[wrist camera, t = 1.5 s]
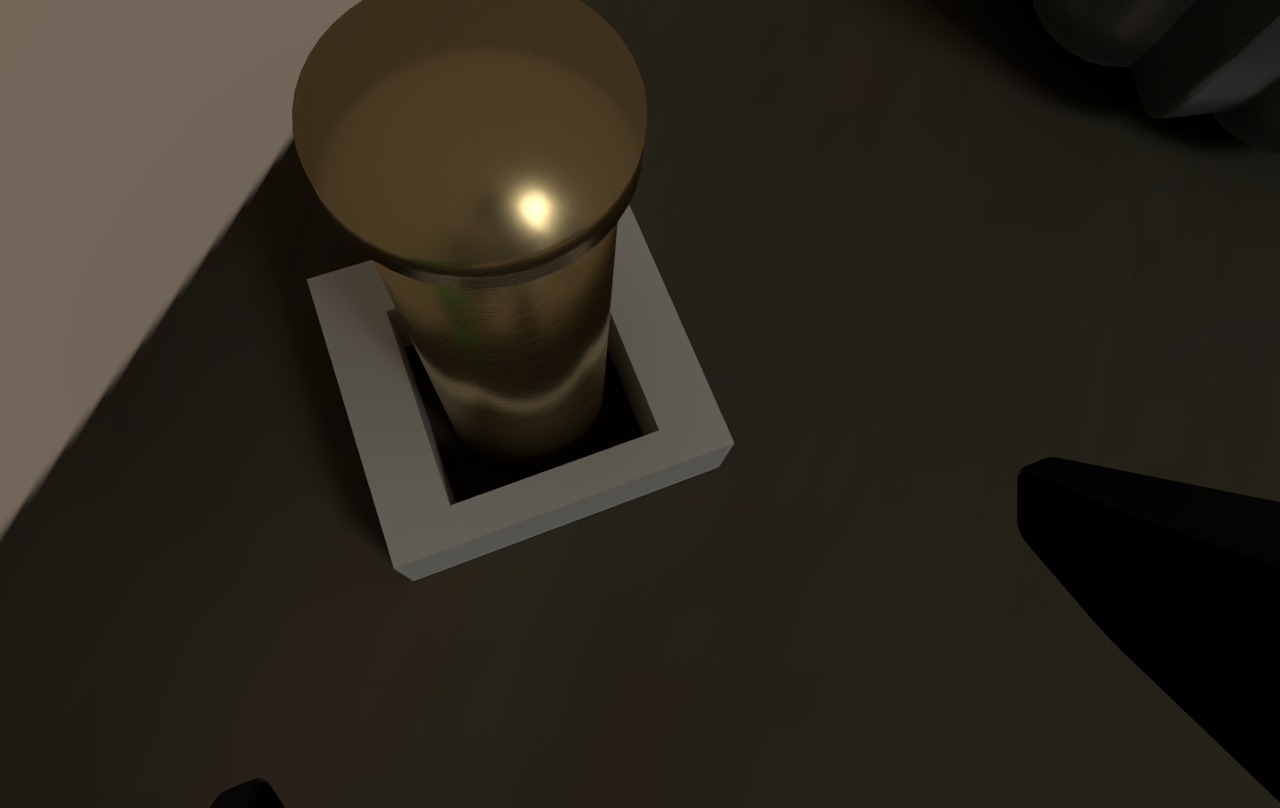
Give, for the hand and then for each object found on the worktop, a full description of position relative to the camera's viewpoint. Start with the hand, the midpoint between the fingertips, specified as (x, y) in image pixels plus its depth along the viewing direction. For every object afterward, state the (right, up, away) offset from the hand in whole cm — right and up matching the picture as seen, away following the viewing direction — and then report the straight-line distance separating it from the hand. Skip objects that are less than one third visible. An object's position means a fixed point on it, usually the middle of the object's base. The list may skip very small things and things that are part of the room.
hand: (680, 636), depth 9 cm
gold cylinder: (-4, +3, +15) cm, 16 cm away
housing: (-4, +3, +15) cm, 16 cm away
